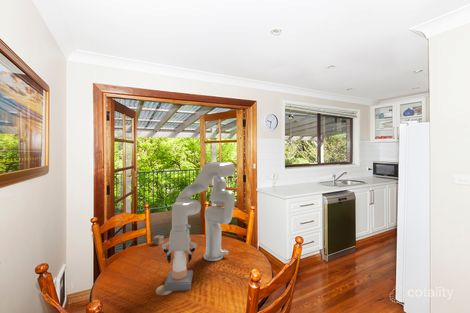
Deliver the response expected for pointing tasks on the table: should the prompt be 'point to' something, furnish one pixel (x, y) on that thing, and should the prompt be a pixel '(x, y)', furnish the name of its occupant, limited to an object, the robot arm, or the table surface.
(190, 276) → the slate stand
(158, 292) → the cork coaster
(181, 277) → the pepper shaker
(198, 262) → the table surface
